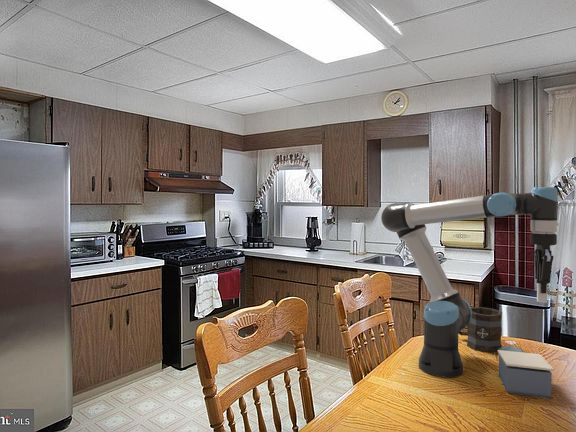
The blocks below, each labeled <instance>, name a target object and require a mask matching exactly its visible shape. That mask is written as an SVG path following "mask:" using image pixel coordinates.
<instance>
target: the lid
mask: <svg viewBox="0 0 576 432" xmlns="http://www.w3.org/2000/svg"><path fill="white" fill-rule="evenodd" d="M497 353H498V356H499V355H500V356H501V358H502V359H503V361H504V362H505V364H506V366H514V367H522V368H531V369H540V370H549V371H550V372H554V369H555V368H553V367H552V365H551V364H549V362H547V360H546V359H545V358H544V357H543V356H542V355H541V354H539V353H532V352H525V353H523V352H514V351H504V350H498V352H497Z"/></svg>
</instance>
